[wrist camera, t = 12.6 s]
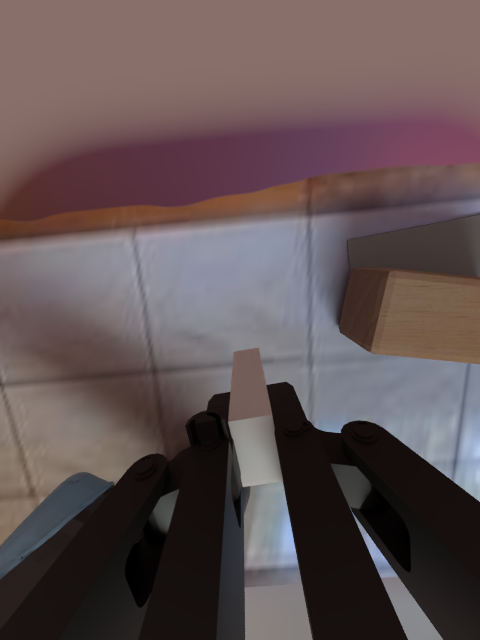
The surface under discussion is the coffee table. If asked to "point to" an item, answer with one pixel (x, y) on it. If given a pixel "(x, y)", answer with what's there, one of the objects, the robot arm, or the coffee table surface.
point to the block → (413, 314)
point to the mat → (422, 248)
